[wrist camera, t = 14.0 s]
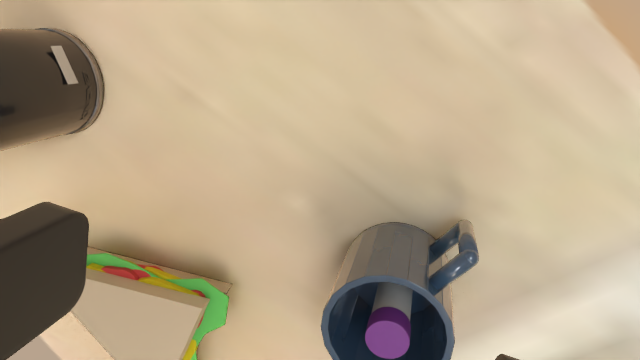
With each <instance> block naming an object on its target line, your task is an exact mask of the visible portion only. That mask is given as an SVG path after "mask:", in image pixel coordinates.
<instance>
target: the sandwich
mask: <svg viewBox="0 0 640 360" xmlns="http://www.w3.org/2000/svg"><path fill="white" fill-rule="evenodd" d="M231 286H232V284H229V283H226V282H222V281H218V280H214V279H210V278H206V277H202V276H198V275H195V274H191V273H187V272H183V271H179V270H175V269H171V268H168V267H164V266H160V265H156V264H152V263H148V262H144V261H140V260H137V259H133V258H129V257H125V256H121V255H117V254H113V253H109V252H106V251H102V250H98V249H94V248H90V247H88V248H87V265H86V281H85V286H84V290H83V292H82V295H81V297H80V298H79V300H78V302H77V303H76V305H75V306H74V307H73V308H72V309H71V310H70V311H71V312H72V313H73V315H74V316H75V317H76V318H77V319H78V320H79V321H80V322H81V323H82V324H83V326H84V327H85V328H86V329H87V330H88V331H89V332H90V333H91V334H92V336H93V337H94V338H95V339H96V340H97V341H98V342H99V343H100V344H101V345H102V347H103V348H104V349H105V350H106V351H107V352H108V353H109V354H110V355H111V357H112V358H113V359H114V360H197V355H196V350H197V348H198V344H199V343H200V341H201V340H202V338H203V336H204V335H205V334H206V333H208V332H210V331H212V330H214V329H217V328H219V327H221V326H223V325H225V322H226V315H227V309H228V302H229V297H228V296H227V295H226V293H227V292H228V290H229V289H230V287H231Z"/></svg>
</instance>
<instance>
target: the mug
mask: <svg viewBox="0 0 640 360" xmlns="http://www.w3.org/2000/svg"><path fill="white" fill-rule="evenodd" d="M456 244H458V245H459V254H458V255H457V256H455V257H454V258H453V259H452V260H450V261H449V262H448V259H447V256H446V254H445V253H446V252H447V251H449V250H450V249H451V248H453V247H454V246H455V245H456ZM478 261H479V255H478V250H477V245H476V240H475V235H474V230H473V225H472V223H471V222H470V221H468V220H461V221H459V222H458V223H457V224H456V225H454V226H453V227H452V228H451V229H449V230H448V231H447V232H446V233H444V234H443V235H442V236H441V237H439V238H438V239H437V240H435V239H434V238H433V237H432V236H431V235H430V234H428V233H427V232H425V231H424V230H422V229H420V228H418V227H415V226H413V225H409V224H405V223H397V222H390V223H383V224H379V225H375V226H373V227H370V228H369V229H367V230H365V231H364V232H362V233H361V234H360V235H359V236H358V237H357V238H356V239H355V240H354V241H353V243H352V244H351V246H350V248H349V250H348V252H347V254H346V256H345V258H344V261H343V263H342V266H341V268H340V271H339V273H338V276H337V278H336V280H335V283H334V285H333V288H332V290H331V293H330V295H329V298H328V300H327V303H326V305H325V308H324V310H323V316H322V323H321V331H322V335H323V340H324V345H325V347H326V349H327V350H328V352H329V354H330V355H331V357H332V359H333V360H450V359H451V356H452V352H453V348H454V344H455V337H454V321H453V306H452V290H451V283H452V282H454V281H455V280H456V279H458V278H459V277H460V276H462V275H463V274H464V273H466V272H467V271H468V270H470V269H471V268H472V267H474V266H475V265H476V264H477V263H478ZM379 282H390V283H394V284H399V285H403V286H406V287H408V288H410V289H412V290H413V293H412V304H411V316H410V324H411V333H410V345H409V348H408V350H407V351H406V353H405V354H403V355H402V356H400V357H398V358H395V359H385V358H381V357H379V356H377V355H375V354H374V353H373V352H372V351H371V350H370V349H369V348H368V346H367V344H366V341H365V333H366V329H367V325H368V320H369V317H370V315H371V313H372V309H373V305H374V300H375V296H376V292H377V287H378V283H379Z"/></svg>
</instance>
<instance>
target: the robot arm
mask: <svg viewBox="0 0 640 360" xmlns="http://www.w3.org/2000/svg"><path fill="white" fill-rule="evenodd" d="M103 95H104V89H103V80H102V76H101V72H100V69H99V67H98V64H97V62H96V60H95V59H94V57H93V55H92V54H91V52H90V51H89V50H88V49H87V47H86V46H85V45H84V44H83V43H82V42H81V41H80V40H78V39H77V38H76V37H74V36H73V35H71V34H69V33H67V32H65V31H62V30H58V29H51V28H40V29H34V30H33V29H0V151H3V150H7V149H11V148H15V147H18V146H22V145H26V144H29V143H33V142H37V141H41V140H45V139H49V138H52V137H56V136H60V135H65V134H72V133H75V132H79V131H82V130H84V129H85V128H87V127H88V126H90V125H91V124H92V123H93V122H94V120H95V119H96V118H97V116H98V114H99V112H100V110H101V107H102V103H103ZM88 231H89V223H88V219H87V217H86V216H85V215H84V214H82V213H80V212H77V211H74V210H71V209H68V208H65V207H62V206H59V205H56V204H53V203H50V202H42V203H39V204H37V205H35V206H32V207H30V208H27V209H25V210H23V211H20V212H18V213H16V214H13V215H11V216H9V217H6V218H4V219H0V360H6V359H7V358H9V357H10V356H12V355H13V354H14V353H16V352H17V351H18V350H20V349H21V348H22V347H24V346H25V345H26V344H27V343H29V342H30V341H31V340H33V339H34V338H35V337H37V336H38V335H39V334H41V333H42V332H43V331H45V330H46V329H47V328H49V327H50V326H51V325H53V324H54V323H55V322H57V321H58V320H59V319H60V318H62V317H63V316H64V315H66V314H67V313H68V312H69V311H70V310H71V309H72V308H73V307H74V306H75V305H76V303H77V302H78V300H79V298H80V297H81V295H82V292H83V290H84V286H85V281H86V265H87V248H88ZM495 360H519V359H516V358H513V357H510V356H507V355H504V354H500V355H499V356H497V358H496V359H495Z"/></svg>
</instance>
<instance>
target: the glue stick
mask: <svg viewBox="0 0 640 360" xmlns="http://www.w3.org/2000/svg"><path fill="white" fill-rule="evenodd" d="M412 293H413V290H412V289H410V288H408V287H406V286H403V285H399V284H394V283H390V282H379V283H378V287H377V292H376V296H375V300H374V305H373V309H372V313H371V315H370V317H369V320H368V325H367V329H366V333H365V341H366V344H367V346H368V348H369V349H370V350H371V351H372V352H373V353H374V354H375V355H377V356H379V357H381V358H385V359H395V358H398V357H400V356H402V355H403V354H405V353H406V351H407V350H408V348H409V345H410V333H411V324H410V316H411V304H412Z"/></svg>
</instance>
